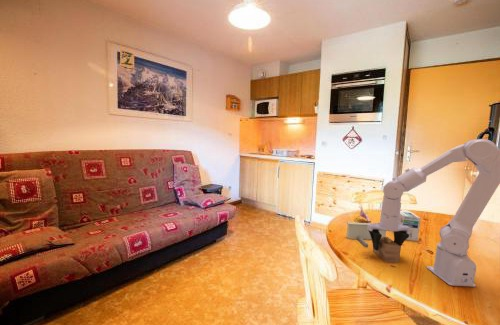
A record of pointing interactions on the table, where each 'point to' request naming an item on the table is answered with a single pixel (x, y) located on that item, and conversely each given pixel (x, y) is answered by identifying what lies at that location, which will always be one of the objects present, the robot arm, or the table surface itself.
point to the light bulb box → (410, 223)
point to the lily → (363, 214)
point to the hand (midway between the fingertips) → (385, 249)
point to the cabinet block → (388, 250)
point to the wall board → (360, 232)
